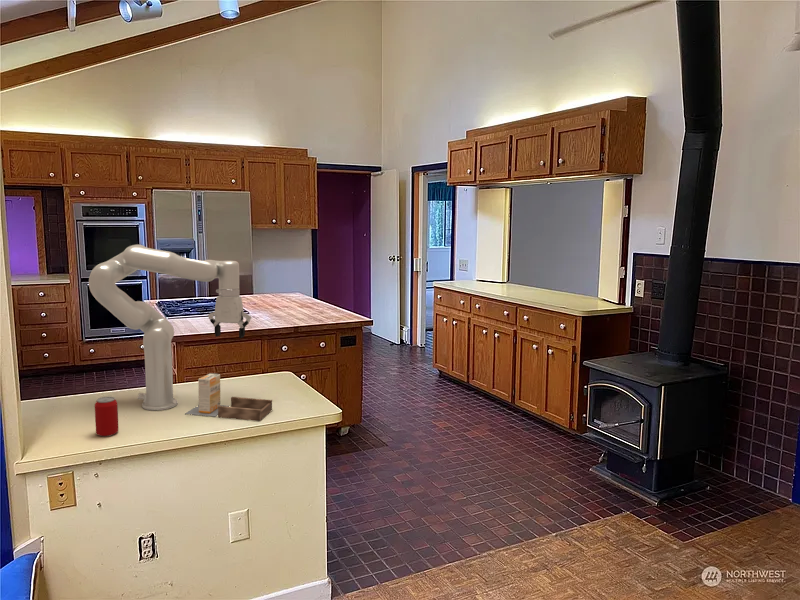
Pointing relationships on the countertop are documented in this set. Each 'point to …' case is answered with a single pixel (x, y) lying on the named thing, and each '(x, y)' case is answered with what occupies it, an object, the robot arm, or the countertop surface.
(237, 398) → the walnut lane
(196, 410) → the mat
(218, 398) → the supplement box
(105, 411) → the beverage can
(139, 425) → the countertop surface
